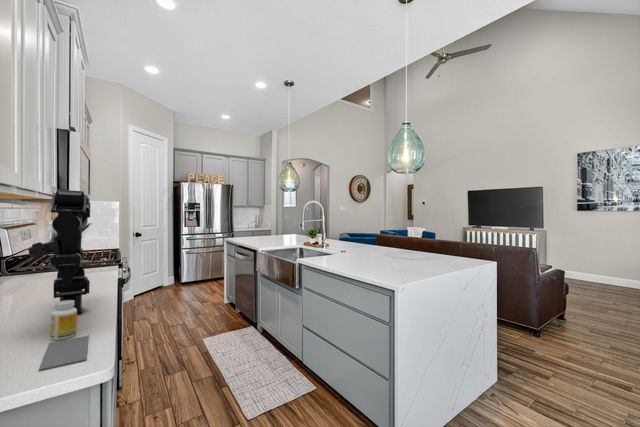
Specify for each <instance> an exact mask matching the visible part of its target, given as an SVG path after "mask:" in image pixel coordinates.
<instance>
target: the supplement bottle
mask: <svg viewBox="0 0 640 427" xmlns="http://www.w3.org/2000/svg"><path fill="white" fill-rule="evenodd" d="M74 305H75V304H74V300H64V301H60V300H58V301H57V302H55V304H54V309H55V310H53V311H52V312H51V313H50V336H49V337H50V338H49V339H50V340H51V341H61V340H67V339H72V337H73V338H74V336H76V334H77V322H78V314H77V309H76V308H74V307H73V306H74Z"/></svg>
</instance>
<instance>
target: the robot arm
mask: <svg viewBox="0 0 640 427" xmlns="http://www.w3.org/2000/svg"><path fill="white" fill-rule="evenodd" d="M50 213H52V214H53V213H57V216H55V217H54V218H53V220H52V223H51V226H52V228H53V230H54V231H55V232H56V233H55V234H56V235H55V236H54V238H53V240H51V241H48V242H44V243H43V242H41V241H39V242H36V243H32V245H31V247H29V248H27V251H28V255H30V256H31V259H32V260H35V259H39V257H43V256H47V255H49V254H53V255H52V256H51V258H50V266H51V267H52V268H55V269H56V270H57V275H56V279H54V280H53V299H57V298H59V301H64V300H74V304H75V305H74V306H73V307H74V308H76V309H77V315H81V314H83V311H84V307H83V306H82V305H83V304H82V302H83V300H82V298H83V296H86V295H87V294H90V280H89V278H88V276H86V275H85V274H86V273H85V272H86V271H85V270H84V268H83V267H82V266H81V264H82V260H83V256H84V249H83V248H82V241H83V240H82V239H83V232H82V231H83V229H84V228H85V227H86V226H87V224H88V218H89V219H90V218H91V202H90V198H89V196H88V194H85V191H83V190H70V189H69V190H68V189H67V190H66V189H57V190H56V191H55V192H54V193H52V199H51V205H50Z"/></svg>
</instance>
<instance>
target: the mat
mask: <svg viewBox="0 0 640 427" xmlns="http://www.w3.org/2000/svg"><path fill="white" fill-rule="evenodd" d="M89 337H90V336H89V335H84V336H78V337H73V338H72V337H71V338H68V339H63V340H55V341H51V342H48V345H47V347H46V350H45V352H44V355H43V357H42V360H41V363H40V366H39V367H38V372H43V371H46V370H47V371H48V370H51V369H55V368H59V367H60V368H61V367H65V366H68V365H74V364H78V363H83V362H87V360H88V359H87V358H88V357H87V356H88V348H89V339H90V338H89Z"/></svg>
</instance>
